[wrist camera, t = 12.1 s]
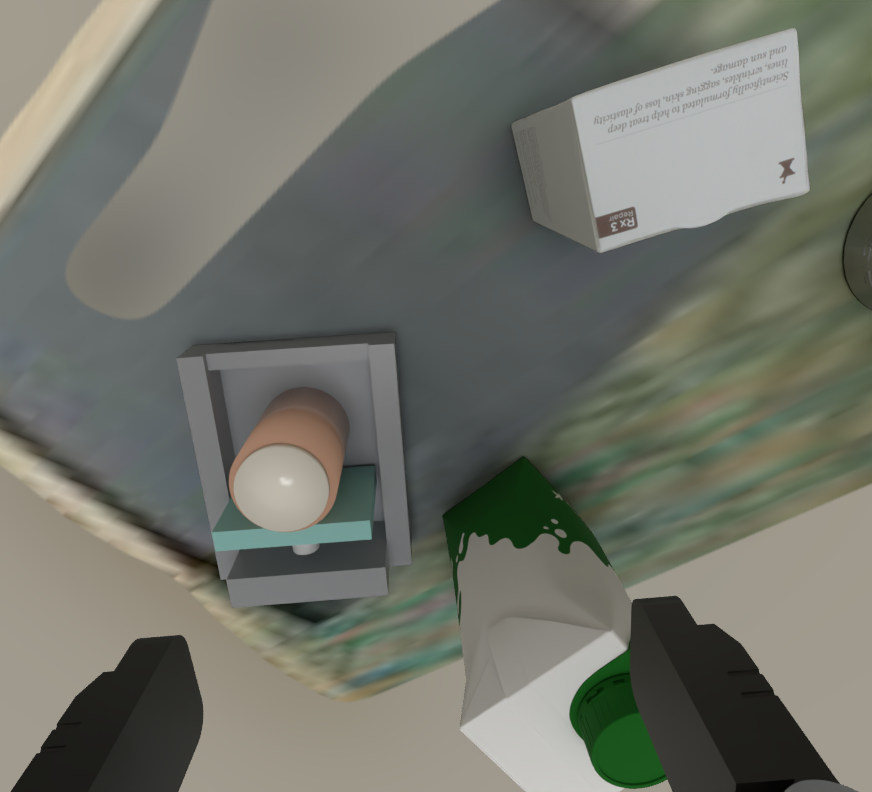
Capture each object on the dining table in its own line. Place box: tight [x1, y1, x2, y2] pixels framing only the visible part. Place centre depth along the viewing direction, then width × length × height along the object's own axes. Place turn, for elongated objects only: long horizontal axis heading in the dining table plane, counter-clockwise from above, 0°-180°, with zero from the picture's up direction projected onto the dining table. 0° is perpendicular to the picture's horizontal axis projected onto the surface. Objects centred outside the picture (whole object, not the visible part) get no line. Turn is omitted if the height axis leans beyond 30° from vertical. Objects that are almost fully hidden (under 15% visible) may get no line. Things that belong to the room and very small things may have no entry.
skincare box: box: [511, 28, 810, 253], centre depth 29 cm, size 8×6×15 cm
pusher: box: [212, 466, 377, 555], centre depth 37 cm, size 9×3×7 cm, turn 93°
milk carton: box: [443, 456, 667, 792], centre depth 34 cm, size 9×9×20 cm
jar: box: [229, 387, 350, 532], centre depth 35 cm, size 6×6×9 cm
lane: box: [176, 332, 412, 608], centre depth 38 cm, size 12×15×6 cm
